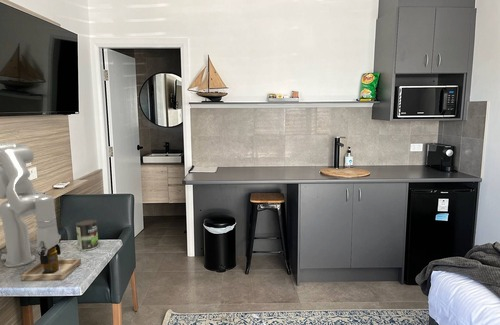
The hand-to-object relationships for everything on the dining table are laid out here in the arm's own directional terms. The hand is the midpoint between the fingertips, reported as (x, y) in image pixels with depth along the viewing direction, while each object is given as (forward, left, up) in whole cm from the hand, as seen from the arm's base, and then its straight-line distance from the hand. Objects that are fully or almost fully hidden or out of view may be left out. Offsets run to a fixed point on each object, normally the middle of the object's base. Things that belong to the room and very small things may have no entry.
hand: (51, 259), depth 157 cm
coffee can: (+3, +29, -6) cm, 30 cm away
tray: (0, 0, -6) cm, 6 cm away
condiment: (0, -1, -6) cm, 6 cm away
